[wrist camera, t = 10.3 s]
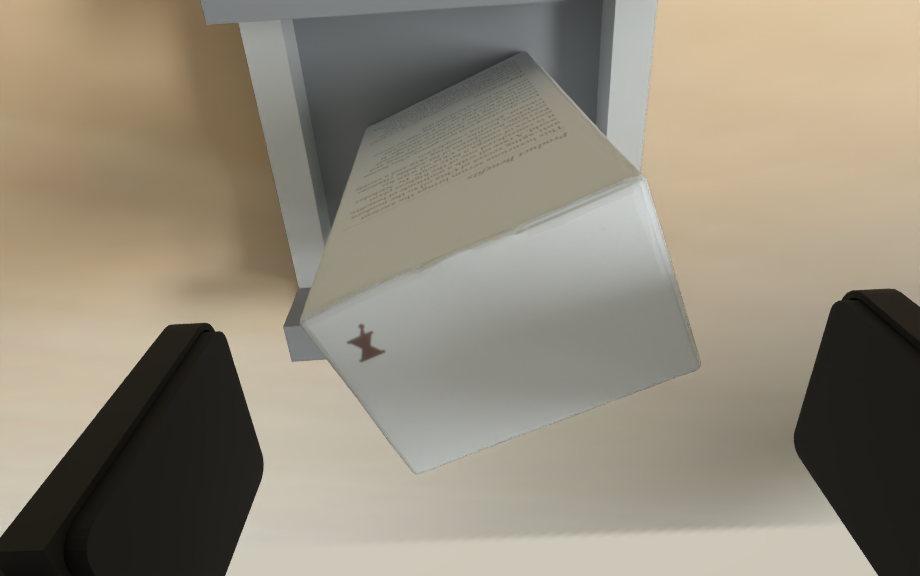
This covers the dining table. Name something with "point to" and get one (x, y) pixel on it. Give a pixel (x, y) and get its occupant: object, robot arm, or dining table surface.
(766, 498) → the dining table surface
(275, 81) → the rest
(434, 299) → the skincare box
